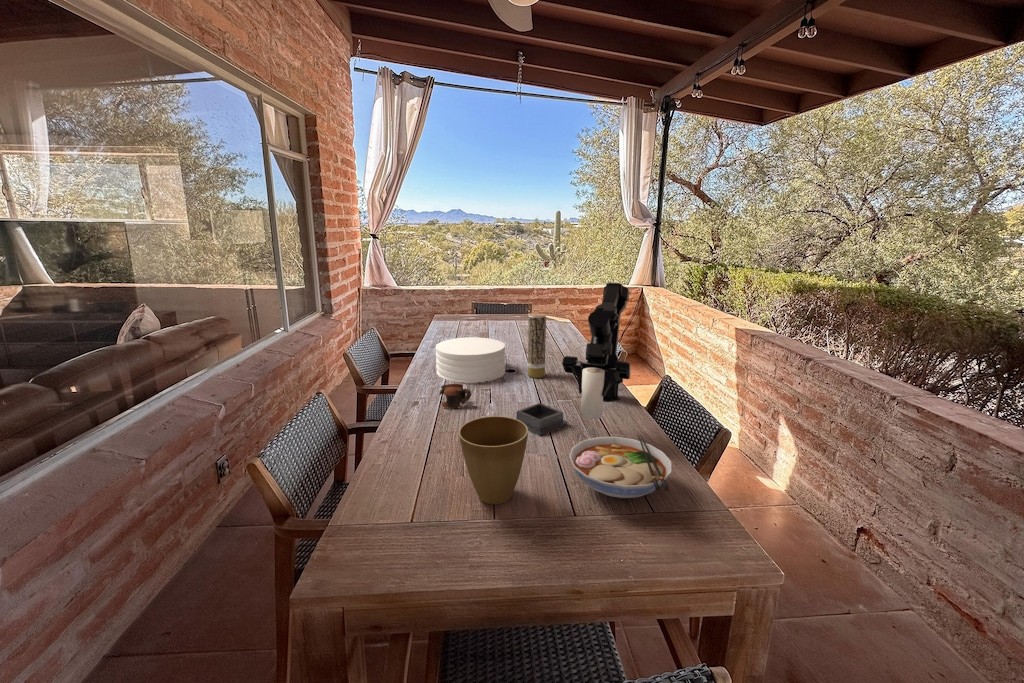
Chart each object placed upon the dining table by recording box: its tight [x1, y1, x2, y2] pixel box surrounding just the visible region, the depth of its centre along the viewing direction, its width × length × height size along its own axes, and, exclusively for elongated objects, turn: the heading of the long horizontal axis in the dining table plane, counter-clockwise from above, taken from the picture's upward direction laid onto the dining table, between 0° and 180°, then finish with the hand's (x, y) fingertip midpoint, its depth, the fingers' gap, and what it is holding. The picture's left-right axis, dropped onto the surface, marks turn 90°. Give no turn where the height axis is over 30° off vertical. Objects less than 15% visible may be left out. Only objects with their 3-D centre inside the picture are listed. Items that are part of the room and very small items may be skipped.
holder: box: [516, 402, 569, 437], centre depth 138 cm, size 12×12×4 cm
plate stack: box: [435, 336, 506, 384], centre depth 187 cm, size 28×28×12 cm
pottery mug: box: [438, 383, 472, 409], centre depth 154 cm, size 12×10×8 cm
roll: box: [580, 368, 605, 420], centre depth 127 cm, size 6×6×13 cm
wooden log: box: [527, 312, 547, 379], centre depth 180 cm, size 7×7×25 cm
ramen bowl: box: [568, 434, 673, 499], centre depth 104 cm, size 25×23×8 cm
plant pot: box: [458, 415, 529, 505], centre depth 100 cm, size 15×15×16 cm
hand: (591, 394), depth 126 cm, fingers closed on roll, 6 cm apart
